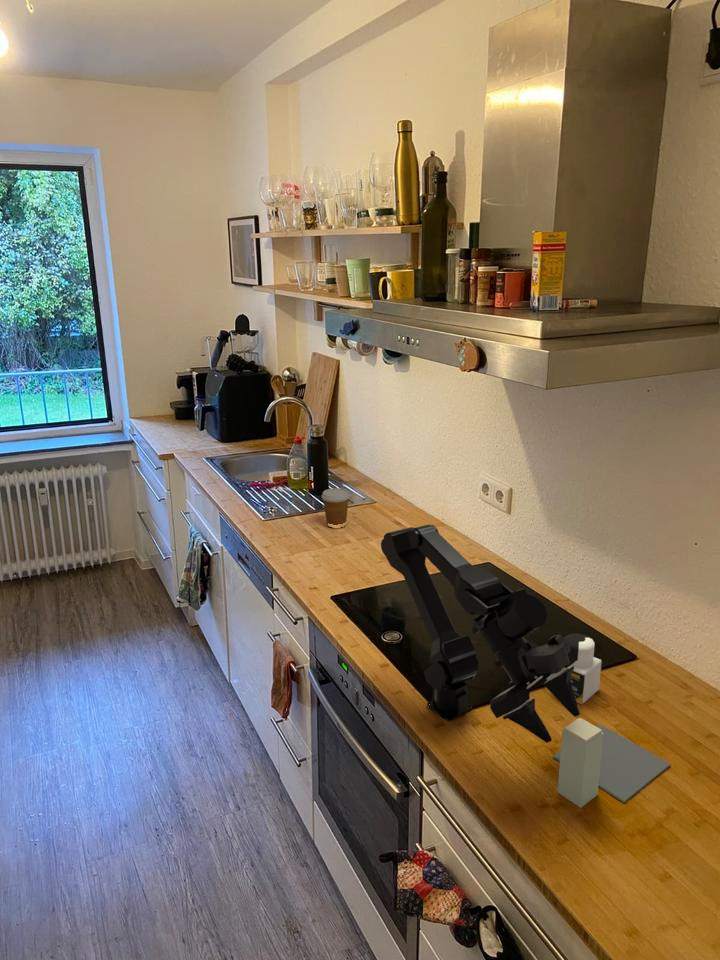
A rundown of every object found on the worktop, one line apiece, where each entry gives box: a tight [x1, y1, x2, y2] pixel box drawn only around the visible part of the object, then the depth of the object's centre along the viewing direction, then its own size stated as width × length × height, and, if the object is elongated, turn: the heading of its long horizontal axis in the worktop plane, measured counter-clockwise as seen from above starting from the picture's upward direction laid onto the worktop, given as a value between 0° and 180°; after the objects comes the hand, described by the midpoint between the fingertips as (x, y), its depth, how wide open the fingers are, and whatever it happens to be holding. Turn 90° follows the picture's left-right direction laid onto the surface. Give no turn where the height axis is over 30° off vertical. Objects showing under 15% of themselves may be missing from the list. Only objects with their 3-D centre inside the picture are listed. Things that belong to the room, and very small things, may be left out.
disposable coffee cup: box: [321, 487, 351, 525], centre depth 234 cm, size 10×10×12 cm
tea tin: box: [557, 717, 603, 809], centre depth 112 cm, size 4×4×13 cm
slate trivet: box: [552, 724, 671, 804], centre depth 121 cm, size 14×14×1 cm
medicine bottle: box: [563, 633, 603, 705], centre depth 140 cm, size 7×7×12 cm
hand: (563, 728), depth 114 cm, fingers open, 9 cm apart
